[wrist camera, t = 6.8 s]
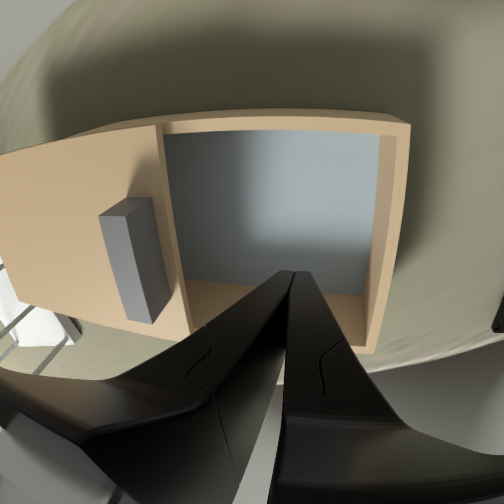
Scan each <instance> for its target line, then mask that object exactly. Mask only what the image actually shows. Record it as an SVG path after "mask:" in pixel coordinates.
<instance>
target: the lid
mask: <svg viewBox="0 0 504 504" xmlns="http://www.w3.org/2000/svg"><path fill="white" fill-rule="evenodd" d="M0 256H1V259H2V261H3V264H4V267H5V269H6V272H7V274H8V277H9V279H10V282H11V284H12V286H13V289H14V291H15V293H16V296H17V298H18V300H19V301H20V302H24V303H27V304H30V305H33V306H36V307H39V308H43V309H46V310H49V311H53V312H56V313H60V314H63V315H67V316H70V317H74V318H78V319H81V320H85V321H89V322H93V323H97V324H101V325H105V326H109V327H113V328H117V329H121V330H126V331H130V332H134V333H139V334H143V335H148V336H153V337H158V338H162V339H167V340H173V341H178V342H180V341H181V340H183V339H184V338H186V337H188V336H189V335H191V334H192V333H194V328H193V323H192V318H191V313H190V308H189V303H188V298H187V293H186V288H185V282H184V277H183V271H182V266H181V260H180V254H179V248H178V242H177V236H176V230H175V224H174V217H173V211H172V204H171V197H170V190H169V182H168V175H167V167H166V159H165V150H164V142H163V133H162V123H160V124H151V125H143V126H136V127H128V128H122V129H115V130H109V131H103V132H97V133H91V134H86V135H80V136H75V137H70V138H65V139H61V140H56V141H52V142H47V143H43V144H39V145H35V146H31V147H27V148H23V149H19V150H15V151H11V152H8V153H4V154H1V155H0Z"/></svg>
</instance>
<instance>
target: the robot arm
mask: <svg viewBox="0 0 504 504" xmlns="http://www.w3.org/2000/svg"><path fill="white" fill-rule="evenodd" d="M497 326H498V327H497ZM491 328H492V331H493V332H494V333H504V297H503V300H502V302H501V305H500V307H499V309H498V312H497V314H496V317H495V319H494V321H493V324H492V326H491ZM284 358H285V372H284V390H283V409H282V420H281V429H280V435H279V441H278V447H277V452H276V458H275V463H274V469H273V474H272V479H271V484H270V489H269V495H268V500H267V504H504V455H489V454H483V453H479V452H475V451H472V450H469V449H466V448H463V447H460V446H457V445H455V444H451V443H449V442H446V441H443V440H440V439H438V438H435V437H432V436H430V435H427V434H424V433H422V432H419V431H417V430H414V429H413V428H411V427H410V426H408V425H407V424H406V423H405V422H404V421H403V420H401V418H400V417H399V416H398V415H397V413H396V412H395V411H394V409H393V408H392V407H391V406H390V404H389V403H388V401H387V400H386V398H385V397H384V396H383V394H382V393H381V392H380V390H379V389H378V388H377V386H376V385H375V384H374V382H373V381H372V379H371V378H370V377H369V375H368V374H367V372H366V371H365V369H364V368H363V366H362V365H361V364H360V362H359V360H358V358H357V357H356V355H355V353H354V351H353V350H352V348H351V346H350V344H349V342H348V340H346V337H345V335H344V333H343V331H342V329H341V327H340V325H339V323H338V321H337V320H336V318H335V316H334V314H333V312H332V310H331V308H330V307H329V305H328V303H327V301H326V299H325V297H324V295H323V294H322V292H321V290H320V288H319V286H318V284H317V283H316V281H315V279H314V277H313V275H312V273H311V272H310V271H296V272H295V271H293V270H279V271H278V272H277V273H275V274H274V275H273V276H271V277H270V278H268V279H267V280H266V281H264V282H263V283H262V284H260V285H259V286H258V287H256V288H255V289H253V290H252V291H251V292H249V293H248V294H247V295H245V296H244V297H243V298H241V299H240V300H238V301H237V302H236V303H234V304H233V305H231V306H230V307H229V308H227V309H226V310H225V311H223V312H222V313H220V314H219V315H218V316H216V317H215V318H213V319H212V320H211V321H209V322H208V323H206V324H205V326H202V327H201V328H199V329H198V330H196V331H195V332H194V333H192V334H191V335H189V336H188V337H186V338H184V339H183V340H181V341H180V342H178V343H177V344H175V345H173V346H172V347H170V348H168V349H166V350H165V351H163V352H161V353H160V354H158V355H156V356H154V357H152V358H150V359H149V360H147V361H145V362H143V363H141V364H139V365H138V366H136V367H134V368H132V369H130V370H128V371H126V372H124V373H122V374H120V375H118V376H116V377H113V378H110V379H105V380H80V379H68V378H58V377H48V376H40V375H32V374H25V373H19V372H15V371H10V370H7V369H4V368H2V367H0V426H1V427H2V428H3V430H2V431H1V433H0V504H232V503H233V500H234V498H235V495H236V493H237V490H238V488H239V484H240V483H241V480H242V478H243V475H244V472H245V470H246V467H247V465H248V462H249V459H250V457H251V454H252V451H253V448H254V446H255V443H256V440H257V437H258V435H259V432H260V429H261V427H262V424H263V421H264V418H265V415H266V412H267V409H268V407H269V403H270V401H271V398H272V395H273V392H274V389H275V386H276V383H277V380H278V377H279V374H280V371H281V368H282V365H283V361H284Z"/></svg>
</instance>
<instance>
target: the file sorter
mask: <svg viewBox="0 0 504 504" xmlns="http://www.w3.org/2000/svg"><path fill="white" fill-rule="evenodd" d="M0 319H1V321H2V322H3V324H4V325H5V328H4V329H3V330H2V331H1V332H0V340H1V339H2V338H3V337H4V336H5V335H6V334H7V333H8V332H9V333H10V334H11V336H12V337H13V338H14V340H15V342H14V343H13V344H12V345H11V346H10V347H9V348H8V349H7V350H6V351H5V352H4V353H3V355H2V356H1V357H0V363H1V361H2V360H3V359H4V358H5V357H6V356H7V355H8V354H9V353H10V352H11V351H12V350H13V349H14V348H15V347H16V346H17V345H19V346H56V345H57V346H56V347H55V348H54V349H53V350H52V351H51V353H50V354H49V355H48V356H47V357H46V358H45V359H44V361H43V362H42V363H41V364H40V365H39V366H38V367H37V369H36V370H35V371H34V372H33V373H32V375H39V374H40V373H41V372H42V370H43V369H44V368H45V367H46V366H47V365H48V363H49V362H50V361H51V360H52V359H53V358H54V356H55V355H56V354H57V353H58V352H59V351H60V350H61V348H62V347H63V346H64V345H74V344H75V343H76V342H77V341H78V340H79V339H80V338H81V334H80V333H79V331H78V330H77V328H76V327H75V325H74V324H73V322H72V321H71V319H70V318H69V316H67V315H63V314H60V313H56V312H53V311H49V310H46V309H43V308H39V307H36V306H33V305H30V304H27V303H24V302H20V301H19V300H18V298H17V296H16V293H15V291H14V289H13V286H12V284H11V282H10V279H9V277H8V274H7V272H6V269H5V267H4V264H3V261H2V259H1V256H0Z"/></svg>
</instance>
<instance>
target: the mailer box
mask: <svg viewBox="0 0 504 504" xmlns="http://www.w3.org/2000/svg"><path fill="white" fill-rule="evenodd" d="M160 123H162V133H163V142H164V150H165V159H166V167H167V175H168V182H169V190H170V197H171V204H172V211H173V217H174V224H175V230H176V236H177V242H178V248H179V254H180V260H181V266H182V271H183V277H184V282H185V288H186V293H187V298H188V303H189V308H190V313H191V318H192V323H193V328H194V332H195V331H196V330H198V329H199V328H201V327H202V326H205V324H206V323H208V322H209V321H211V320H212V319H213V318H215V317H216V316H218V315H219V314H220V313H222V312H223V311H225V310H226V309H227V308H229V307H230V306H231V305H233V304H234V303H236V302H237V301H238V300H240V299H241V298H243V297H244V296H245V295H247V294H248V293H249V292H251V291H252V290H253V289H255V288H256V287H258V286H259V285H260V284H262V283H263V282H264V281H266V280H267V279H268V278H270V277H271V276H273V275H274V274H275V273H277V272H278V271H279V270H293V271H295V272H296V271H310V272H311V273H312V275H313V277H314V279H315V281H316V283H317V284H318V286H319V288H320V290H321V292H322V294H323V295H324V297H325V299H326V301H327V303H328V305H329V307H330V308H331V310H332V312H333V314H334V316H335V318H336V320H337V321H338V323H339V325H340V327H341V329H342V331H343V333H344V335H345V337H346V340H348V342H349V344H350V346H351V348H352V350H353V351H354V353H360V354H374V350H375V347H376V343H377V339H378V335H379V331H380V328H381V324H382V319H383V315H384V311H385V307H386V302H387V298H388V293H389V289H390V284H391V279H392V274H393V269H394V264H395V258H396V253H397V247H398V241H399V235H400V228H401V222H402V215H403V207H404V199H405V191H406V181H407V171H408V160H409V147H410V130H411V124H409V123H407V122H405V121H403V120H401V119H399V118H397V117H395V116H393V115H391V114H388V113H379V112H368V111H355V110H338V109H313V108H257V109H231V110H215V111H201V112H190V113H179V114H170V115H162V116H154V117H146V118H139V119H132V120H126V121H120V122H116V123H113V124H109V125H105V126H102V127H99V128H95V129H92V130H89V131H85V132H82V133H79V134H76V135H73V136H70V137H75V136H80V135H86V134H91V133H97V132H103V131H109V130H115V129H122V128H128V127H136V126H143V125H151V124H160ZM70 137H67V138H70Z"/></svg>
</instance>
